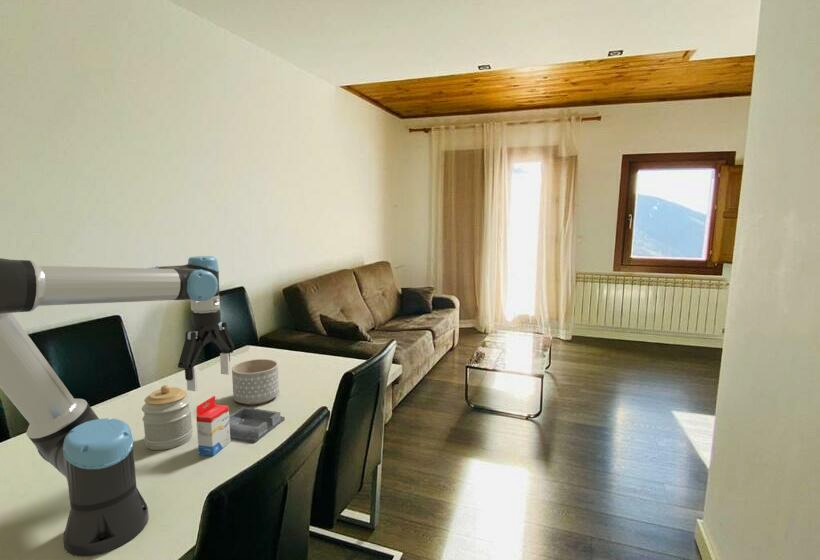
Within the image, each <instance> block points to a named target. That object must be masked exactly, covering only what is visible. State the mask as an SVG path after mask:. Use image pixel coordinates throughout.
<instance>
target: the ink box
mask: <svg viewBox="0 0 820 560" xmlns="http://www.w3.org/2000/svg"><path fill="white" fill-rule="evenodd" d="M207 404H208V405H207ZM229 416H230V408H229V405H225V404H216V396H215V395H213V396H211V397H210V398H207V399H206V400H204V401H202V403H200V404H198V405H196V418H195V419H196V430H197V433H196V434H197V444H198V446H197V447H198V454H199V455H201V456H202V455H204V456H210V457H211V456H212V457H214V456H215V455H216V454H218V453H219V452H220V451H221V450H223V449H224V448H225V447H227V446H228V445H229V444H230V443H231V439H230V424H229Z"/></svg>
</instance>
